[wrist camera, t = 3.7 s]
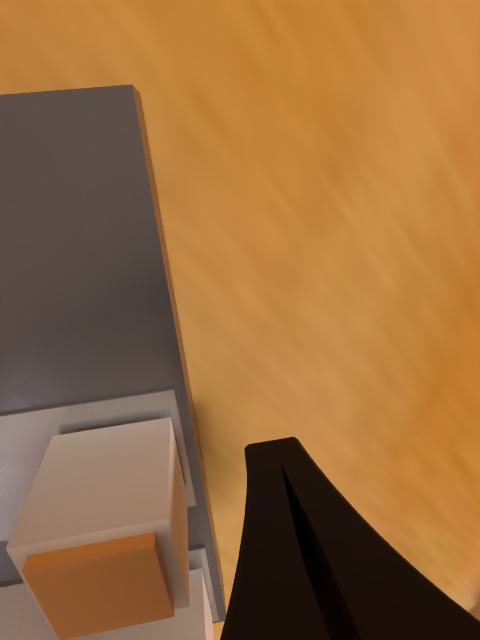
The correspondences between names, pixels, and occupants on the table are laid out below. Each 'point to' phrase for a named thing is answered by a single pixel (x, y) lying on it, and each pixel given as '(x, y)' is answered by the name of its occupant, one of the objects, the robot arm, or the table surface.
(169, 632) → the block
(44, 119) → the breaker panel
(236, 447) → the table surface
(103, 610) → the breaker
